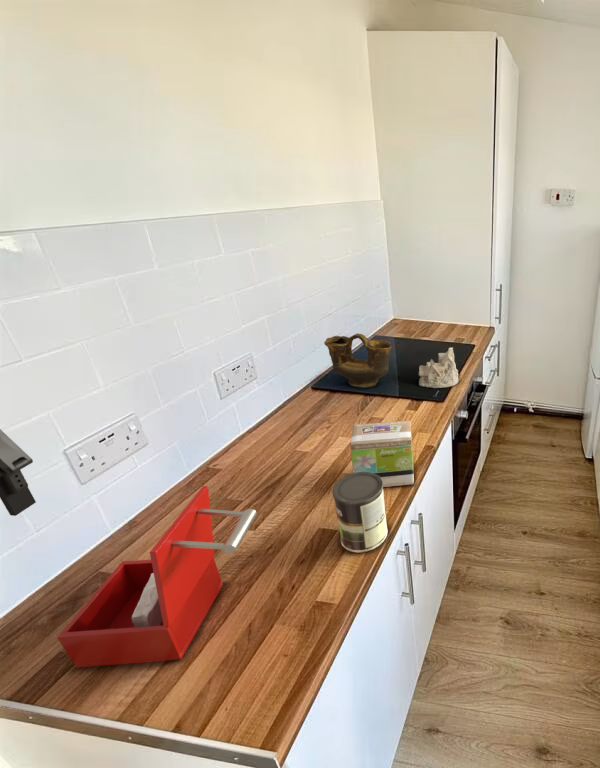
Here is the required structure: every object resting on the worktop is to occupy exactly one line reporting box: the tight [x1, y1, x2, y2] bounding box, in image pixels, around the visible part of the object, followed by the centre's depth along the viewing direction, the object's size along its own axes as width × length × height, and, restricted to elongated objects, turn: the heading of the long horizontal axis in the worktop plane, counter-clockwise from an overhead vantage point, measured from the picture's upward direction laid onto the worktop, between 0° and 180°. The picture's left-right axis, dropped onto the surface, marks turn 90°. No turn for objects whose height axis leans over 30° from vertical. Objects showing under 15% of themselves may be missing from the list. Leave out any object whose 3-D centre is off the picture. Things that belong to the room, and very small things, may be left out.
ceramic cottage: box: [418, 347, 459, 389], centre depth 170 cm, size 16×16×15 cm
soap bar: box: [132, 573, 162, 627], centre depth 76 cm, size 10×6×6 cm
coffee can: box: [331, 472, 389, 554], centre depth 95 cm, size 10×10×14 cm
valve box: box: [56, 557, 224, 669], centre depth 76 cm, size 16×15×8 cm
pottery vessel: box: [324, 333, 393, 389], centre depth 163 cm, size 25×11×20 cm, turn 85°
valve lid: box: [149, 485, 258, 628], centre depth 72 cm, size 16×15×10 cm
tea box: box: [349, 420, 415, 488], centre depth 114 cm, size 15×10×15 cm, turn 104°
